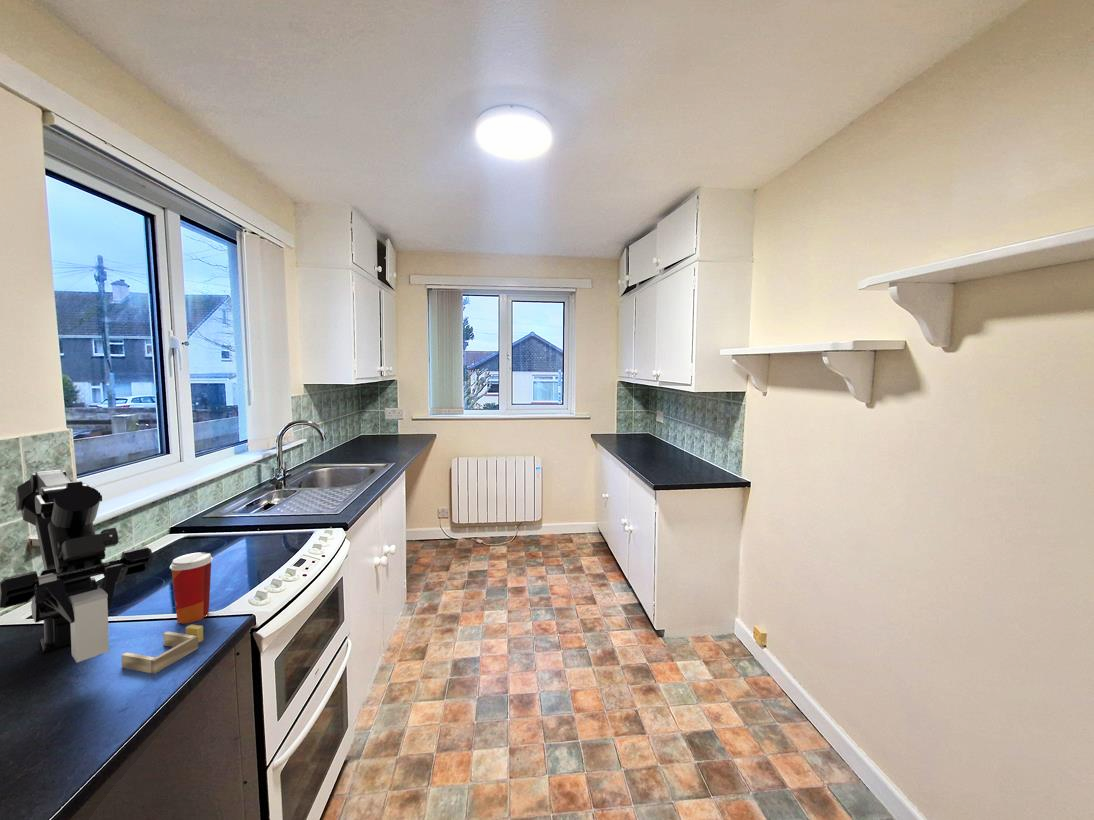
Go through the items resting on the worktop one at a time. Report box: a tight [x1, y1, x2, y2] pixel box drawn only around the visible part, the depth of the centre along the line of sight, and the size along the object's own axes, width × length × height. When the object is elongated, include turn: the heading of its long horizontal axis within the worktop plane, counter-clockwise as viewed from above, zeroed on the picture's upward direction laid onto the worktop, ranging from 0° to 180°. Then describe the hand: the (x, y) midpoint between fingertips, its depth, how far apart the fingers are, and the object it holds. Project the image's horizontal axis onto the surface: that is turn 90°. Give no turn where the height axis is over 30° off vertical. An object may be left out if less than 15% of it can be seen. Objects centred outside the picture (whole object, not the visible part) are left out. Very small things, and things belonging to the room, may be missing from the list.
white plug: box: [69, 587, 110, 664], centre depth 77 cm, size 4×4×10 cm
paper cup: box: [169, 551, 214, 625], centre depth 99 cm, size 8×8×14 cm
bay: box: [121, 630, 199, 674], centre depth 84 cm, size 8×8×2 cm
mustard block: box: [185, 623, 204, 644], centre depth 90 cm, size 3×1×3 cm, turn 78°
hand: (90, 616), depth 76 cm, fingers closed on white plug, 4 cm apart
